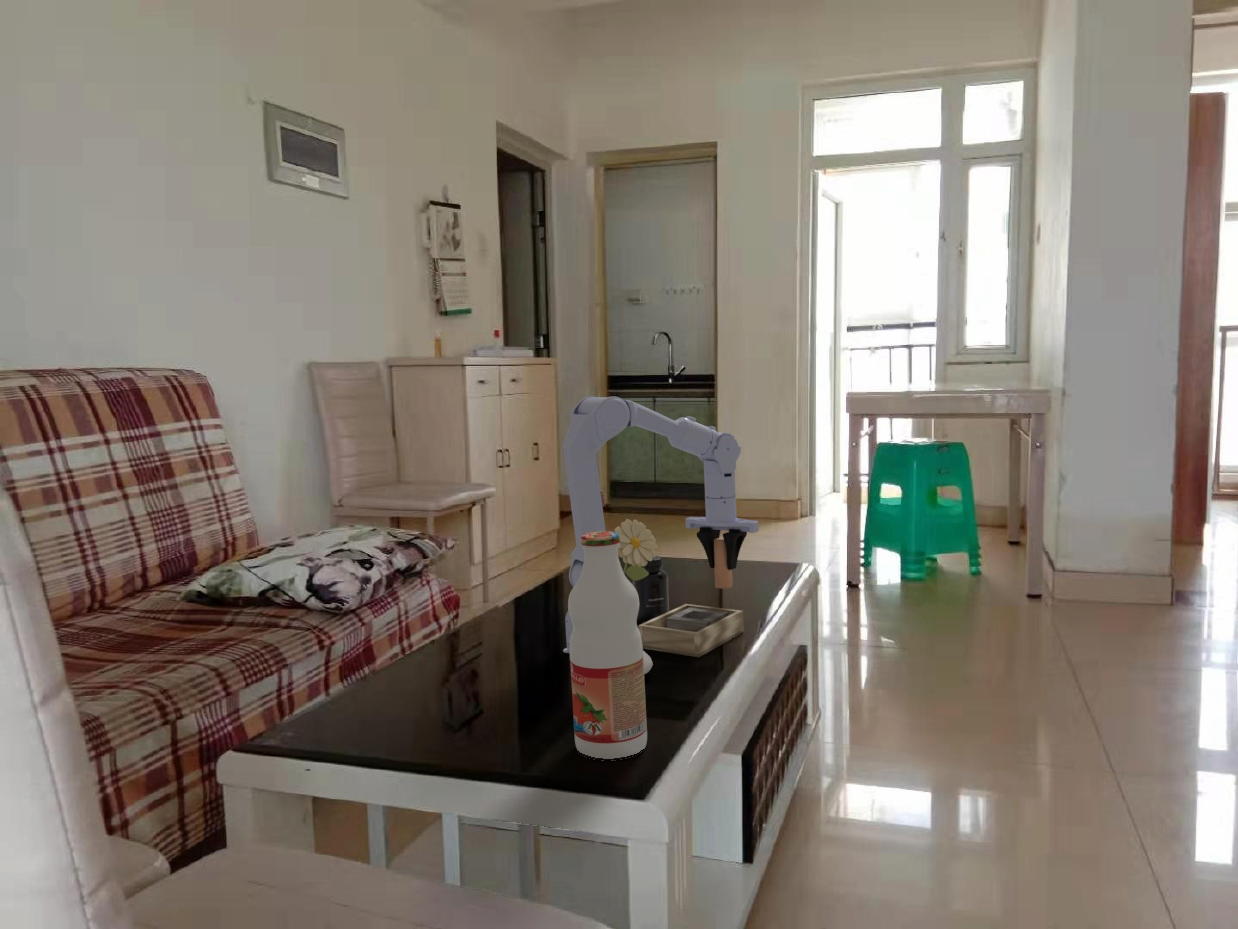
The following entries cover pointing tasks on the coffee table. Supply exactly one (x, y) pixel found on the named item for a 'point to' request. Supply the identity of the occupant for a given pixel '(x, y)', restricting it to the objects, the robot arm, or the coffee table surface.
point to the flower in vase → (636, 557)
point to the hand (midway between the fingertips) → (723, 568)
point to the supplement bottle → (652, 591)
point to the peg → (721, 565)
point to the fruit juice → (606, 655)
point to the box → (691, 629)
